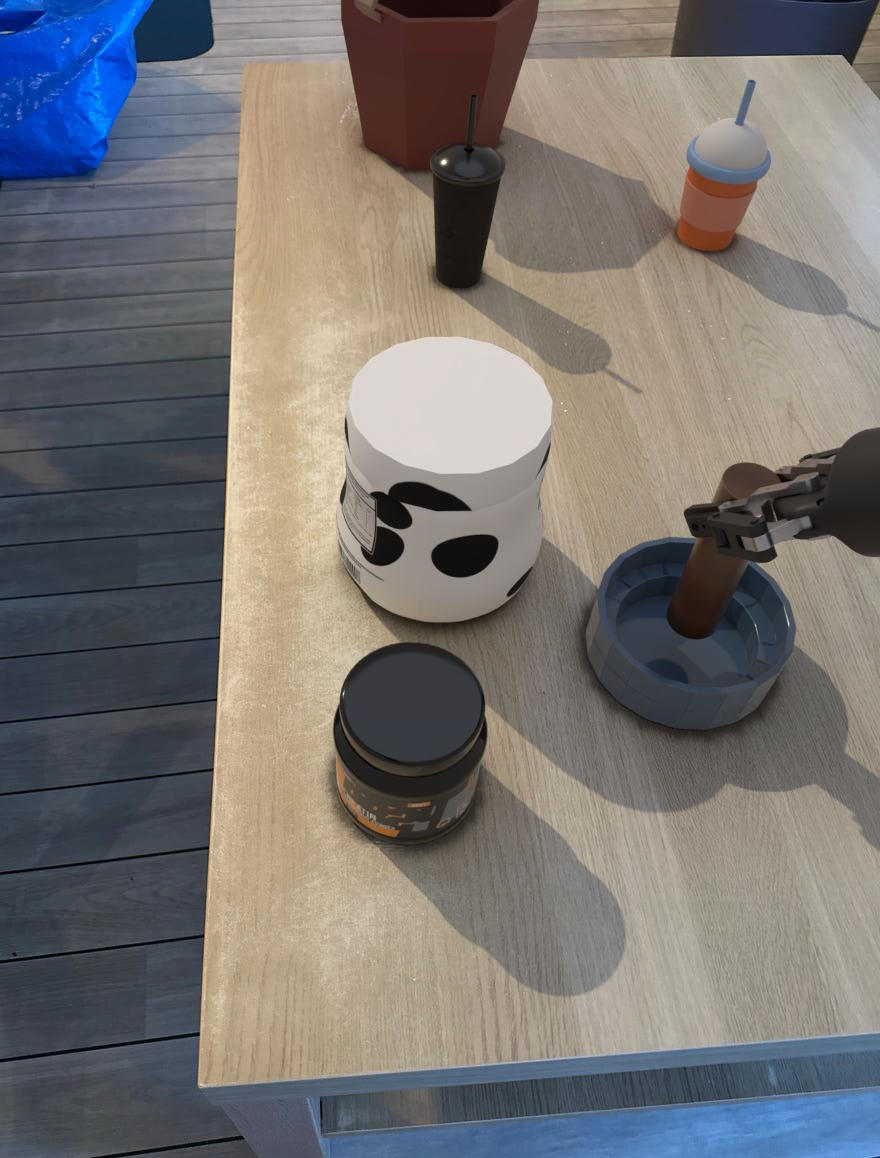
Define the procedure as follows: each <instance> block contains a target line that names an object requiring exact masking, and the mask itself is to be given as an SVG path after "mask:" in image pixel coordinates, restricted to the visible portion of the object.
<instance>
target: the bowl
mask: <svg viewBox="0 0 880 1158" xmlns="http://www.w3.org/2000/svg"><path fill="white" fill-rule="evenodd" d="M696 539H697V538H695V537H684V536H683V537H679V536H667V537H661V538H657V539H656V538H655V539H652V540H647V541H642V542H640V543H638V544H636V545H635V546H633V547H630V548H629V549H627V550H625V551H624V552H621V553H620V554H619V555H617V557H616V558H615V559H614V561H613V562H612V563H611V564H610V565H609V566H608V567H607V569H606V570H605V571H604V573H603V575H602V578H601V581H600V584H599V587H598V591H597V594H596V597H595V600H594V603H593V607H592V610H591V613H590V616H589V620H588V622H587V626H586V629H585V633H584V634H585V635H584V636H585V643H586V645H585V646H586V653H587V654H586V655H587V658H588V661H589V662H590V664H591V668H592V669H593V671H594V673H595V676H596V678H597V680H598V681H599V683H600V684H601V685H602V686H603V687H604V688H605V689H606V690H607V691H608V693H609V694H611V695H612V697H613V698H614V699H615V700H616V702H618V703H619V704H621V705H622V706H624V707H626V708H628V709H629V710H630V711H632V712H634V713H635V714H636V715H639V716H640V717H642V718H643V719H645V720H648V721H651V722H654V723H657V724H661V725H664V726H667V727H669V728H673V729H677V730H678V729H679V730H701V731H706V730H707V731H708V730H712V729H715V728H720V727H724V726H728V725H732V724H735V723H737V722H738V721H740V720H742V719H744V718H745V717H746V716H747V715H749V714H751V713H752V712H754V711H755V710H757V708H759V706H760V705H761V703H762V702H763V700H764V699H765V697H766V696H767V694H768V692H769V691H770V690H771V688H772V686H773V684H775V681H776V680H777V678H778V677H779V675H780V673H781V671H782V670H783V669H784V667H785V665H786V663H788V661H789V659H790V657H791V656H792V654H793V652H794V646H795V641H796V633H797V625H796V622H795V621H796V620H795V617H794V614H793V609H792V605H791V601H790V600H789V599H788V597H787V596H786V594H785V593H784V591H783V590H782V588H781V586H780V585H779V583H778V582H777V580H776V579H775V578H774V577H772V576H771V575H770V574H769V573H768V572H767V571H766V570H765V569H764V568H762V566H760V565H759V563H756V562H752V561H750V562H749V564H748V566H747V568H746V570H745V572H744V574H743V576H742V578H741V580H740V582H739V584H738V586H737V588H736V590H735V592H734V594H733V596H732V598H731V600H730V602H729V604H728V606H727V608H726V610H725V612H724V614H723V617H722V619H721V621H720V623H719V625H718V627H717V629H716V631H715V632H714V633H713V634H712V635H711V636H709V637H707V638H704V639H698V640H696V639H689V638H685V637H683V636H681V635H679V634H678V633H676V632H675V631H674V630H673V629H672V628H671V627H670V625H669V623H668V621H667V617H666V613H667V609H668V607H669V604H670V602H671V600H672V597H673V595H674V592H675V590H676V587H677V585H678V583H679V580H680V578H681V575H682V573H683V570H684V568H685V566H686V563H687V561H688V558H689V556H690V554H691V551H692V549H693V546H694V544H695V541H696Z"/></svg>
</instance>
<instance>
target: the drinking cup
mask: <svg viewBox="0 0 880 1158" xmlns="http://www.w3.org/2000/svg"><path fill="white" fill-rule="evenodd" d="M476 107H477V95H475V94H472V95H471V96H470V106H469V118H468V129H467V141H466V142H453V143H449V144H445V145H443V146H441V147H439V148H437V149H436V150H435V151H434V152H433V153H432V155H431V158H430V167H431V170H430V171H432V189H433V190H432V193H433V220H434V222H433V223H434V248H435V249H434V250H435V251H434V253H435V255H434V256H435V277H436V279H437V281H438V282H439V283H440V284H441V285H444V286H445V287H448V288H451V289H456V290H457V289H458V290H459V289H460V290H463V289H468V288H472V287H474V286H475V285H477V284H478V283H479V281H480V279H481V276H482V270H483V265H484V262H485V261H484V260H485V255H486V251H487V246H488V241H489V237H490V233H491V227H492V224H493V217H494V213H495V209H496V203H497V200H498V194H499V189H500V184H501V181H502V177H503V176H504V174H505V172H506V167H507V163H506V162H507V161H506V159H505V157H504V155H503V154H502V153H501V152H500V151H499V150H497V149H496V148H494V147H493V148H492V147H490V146H487V145H484V144H481V143H476V142H473V139H474V128H475V117H476Z"/></svg>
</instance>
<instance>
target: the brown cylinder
mask: <svg viewBox="0 0 880 1158" xmlns="http://www.w3.org/2000/svg"><path fill="white" fill-rule="evenodd" d="M774 472H775V471H774V470H772V469H771V468H768V467H766V466H765V465H763V464H759V463H755V462H749V461H744V462H743V461H742V462H737V463H734V464H731V465H730V466H728V467H727V468H726V469H725V470H724V472H723V474H722V476H721V479H720V481H719V482H718V485H717V488H716V490H715V493H714V496H713V498H712V500H711V503H716V502H727V501H734V500H739V499H744V498H748V497H749V496H750V495H751V494H753V493H754V492H755V491H756V490H757V489H758V488H761V487H765V486H770V485H775V484H780V483H782V482H781V480H780V478H779V477H778V476H777V475H776V474H775V473H774ZM769 500H770V503H771V506H772V509H773V501H774V498H773V499H769ZM773 512H774V509H773ZM741 513H742V515H748V516H753V514H752V513H751V512H750V511H742V512H741ZM774 513H775V512H774ZM749 562H750V561H748V560H744V559H740V558H736V557H732V556H727V555H723V554H719V552H718V549H717V544H716V542H715V539H714V537H704V538H697V539H696V541H695V544H694V546H693V549H692V551H691V554H690V556H689V558H688V561H687V563H686V566H685V568H684V570H683V573H682V575H681V578H680V580H679V583H678V585H677V587H676V590H675V592H674V595H673V597H672V600H671V602H670V604H669V607H668V609H667V613H666V617H667V621H668V623H669V625H670V627H671V628H672V629H673V630H674V631H675V632H676V633H678V634H679V635H681V636H683V637H685V638H689V639H696V640H698V639H704V638H707V637H709V636H711V635H712V634H713V633H714V632H715V631H716V629H717V627H718V625H719V623H720V621H721V619H722V617H723V614H724V612H725V610H726V608H727V606H728V604H729V602H730V600H731V598H732V596H733V594H734V592H735V590H736V588H737V586H738V584H739V582H740V580H741V578H742V576H743V574H744V572H745V570H746V568H747V566H748V564H749Z"/></svg>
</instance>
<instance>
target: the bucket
mask: <svg viewBox="0 0 880 1158" xmlns="http://www.w3.org/2000/svg"><path fill="white" fill-rule="evenodd" d="M539 6H540V0H340V21H341V26H342V31H343V37H344V42H345V48H346V53H347V58H348V59H347V60H348V64H349V69H350V74H351V75H350V76H351V81H352V83H353V84H352V85H353V90H354V95H355V100H356V105H357V106H356V107H357V112H358V115H359V116H358V117H359V122H360V128H361V132H362V138H363V144H364V147H366V148H367V149H369V150H371V151H372V152H374V153H376V154H378V155H380V156H381V157H382V158H385V159H386V160H388V161H390V162H392V163H393V164H395V165H396V166H399V167H400V168H402V169H404V170H405V171H408V172H409V171H432V170H431V167H430V158H431V155H432V153H433V152H434V151H435V150H436V149H437V148H439V147H441V146H443V145H445V144H449V143H453V142H466V141H467V129H468V118H469V106H470V96H471V95H472V94H475V95H477V107H476V117H475V128H474V139H473V142H476V143H481V144H484V145H487V146H490V147H492V148H494V147H495V146H497V144H498V143H499V140H500V137H501V134H502V130H503V128H504V127H503V126H504V124H505V121H506V117H507V114H508V111H509V109H510V105H511V102H512V98H513V95H514V92H515V89H516V86H517V82H518V79H519V76H520V73H521V70H522V67H523V63H524V60H525V57H526V54H527V51H528V48H529V45H530V41H531V38H532V36H533V31H534V28H535V26H536V22H537V18H538V13H539Z"/></svg>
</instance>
